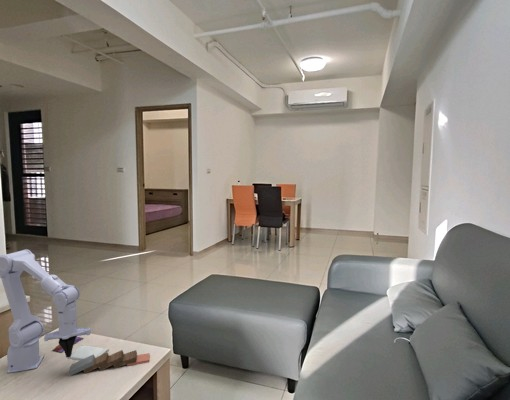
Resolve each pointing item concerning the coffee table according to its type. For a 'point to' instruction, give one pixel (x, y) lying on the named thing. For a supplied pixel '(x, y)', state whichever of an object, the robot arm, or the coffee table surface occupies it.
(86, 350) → the hard drive
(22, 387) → the coffee table surface
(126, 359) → the domino
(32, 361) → the robot arm
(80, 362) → the domino
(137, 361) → the domino
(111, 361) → the domino
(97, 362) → the domino
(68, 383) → the coffee table surface
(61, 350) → the snack package
